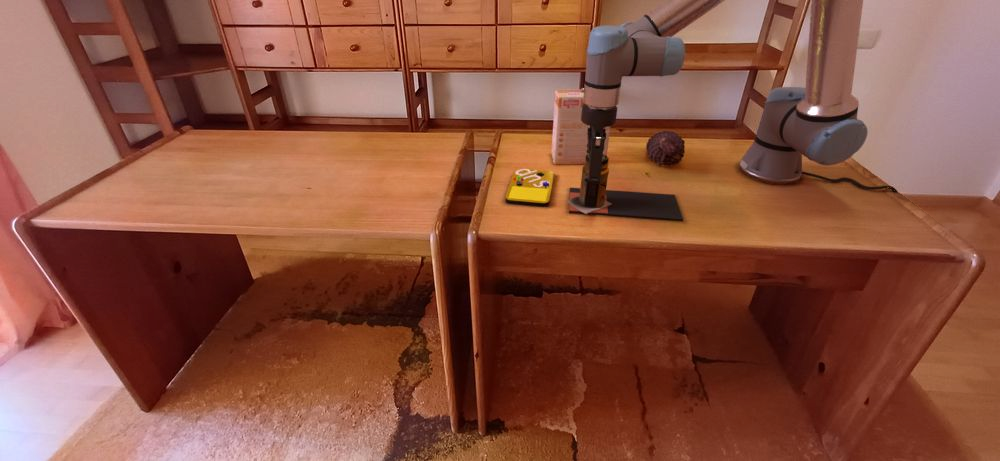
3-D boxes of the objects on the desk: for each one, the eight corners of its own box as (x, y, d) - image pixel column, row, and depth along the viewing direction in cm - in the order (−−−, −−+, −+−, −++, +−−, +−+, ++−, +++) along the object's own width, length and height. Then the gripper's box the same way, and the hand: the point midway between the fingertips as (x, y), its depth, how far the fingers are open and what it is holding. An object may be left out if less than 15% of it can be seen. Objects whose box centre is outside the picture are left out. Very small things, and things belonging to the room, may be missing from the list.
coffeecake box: (600, 154, 142) (609, 88, 131) (606, 164, 136) (615, 96, 125) (550, 154, 141) (555, 88, 131) (553, 165, 135) (558, 96, 125)
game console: (550, 207, 115) (550, 202, 114) (504, 203, 116) (504, 198, 115) (554, 174, 130) (554, 169, 129) (513, 171, 131) (513, 167, 130)
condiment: (611, 204, 115) (618, 158, 108) (585, 214, 111) (591, 167, 104) (591, 192, 120) (596, 147, 113) (564, 201, 116) (569, 155, 109)
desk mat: (674, 196, 120) (674, 193, 119) (682, 221, 110) (683, 218, 109) (569, 189, 123) (570, 186, 122) (568, 213, 113) (569, 210, 112)
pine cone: (629, 151, 143) (647, 121, 141) (656, 166, 146) (674, 137, 143) (654, 160, 126) (675, 126, 124) (683, 177, 129) (704, 144, 127)
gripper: (582, 87, 113) (574, 168, 125) (582, 124, 93) (573, 217, 104) (614, 88, 112) (603, 170, 124) (622, 126, 92) (608, 220, 103)
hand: (589, 192), depth 114 cm, fingers open, 13 cm apart
